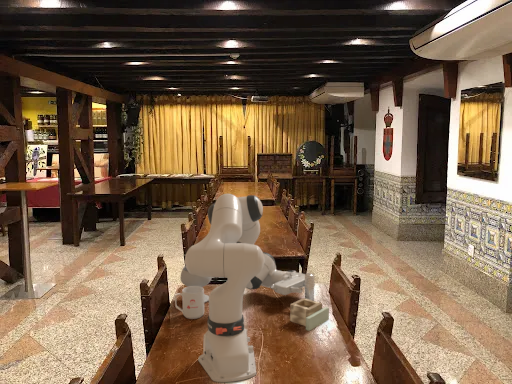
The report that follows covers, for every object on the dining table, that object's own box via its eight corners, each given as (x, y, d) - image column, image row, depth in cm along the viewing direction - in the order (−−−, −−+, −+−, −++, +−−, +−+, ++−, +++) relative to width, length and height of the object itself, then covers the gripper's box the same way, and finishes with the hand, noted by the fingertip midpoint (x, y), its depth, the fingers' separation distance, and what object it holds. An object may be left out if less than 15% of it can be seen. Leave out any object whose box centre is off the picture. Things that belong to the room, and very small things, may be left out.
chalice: (208, 292, 208) (207, 262, 206) (215, 303, 195) (214, 270, 193) (179, 296, 204) (178, 265, 202) (183, 307, 191) (182, 273, 189)
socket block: (290, 321, 175) (290, 304, 174) (303, 314, 182) (303, 297, 181) (309, 327, 169) (309, 310, 168) (321, 319, 176) (322, 303, 175)
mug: (204, 310, 187) (203, 285, 186) (204, 319, 178) (204, 292, 177) (175, 312, 185) (174, 286, 184) (174, 321, 177) (173, 294, 175)
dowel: (315, 307, 190) (315, 275, 188) (306, 308, 189) (306, 276, 187) (311, 303, 194) (312, 272, 192) (303, 304, 193) (303, 273, 191)
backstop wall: (305, 330, 167) (305, 317, 167) (325, 318, 178) (325, 306, 177) (309, 331, 166) (309, 318, 166) (328, 319, 177) (329, 307, 176)
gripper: (267, 280, 191) (293, 287, 182) (295, 269, 207) (320, 275, 198) (268, 294, 192) (293, 301, 183) (295, 282, 208) (320, 288, 198)
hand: (307, 288), depth 191 cm, fingers open, 8 cm apart
